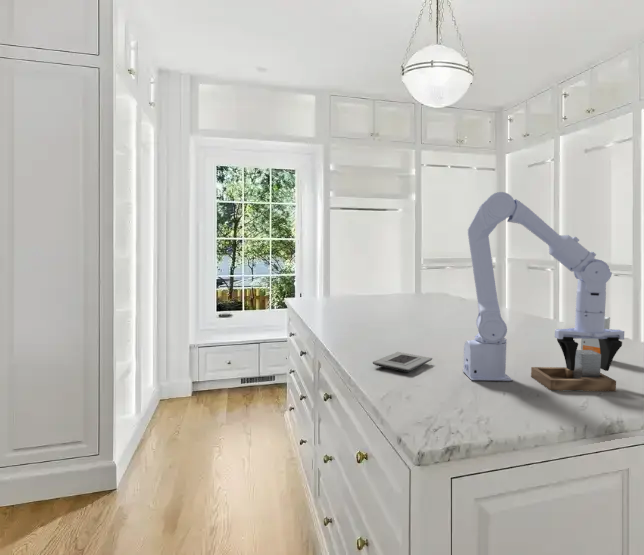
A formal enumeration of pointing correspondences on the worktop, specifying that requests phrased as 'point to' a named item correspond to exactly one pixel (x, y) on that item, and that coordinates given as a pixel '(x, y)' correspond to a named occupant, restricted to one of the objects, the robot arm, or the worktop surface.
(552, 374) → the wooden tray
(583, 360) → the metal peg
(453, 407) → the worktop surface
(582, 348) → the skincare box
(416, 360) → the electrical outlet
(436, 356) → the worktop surface
